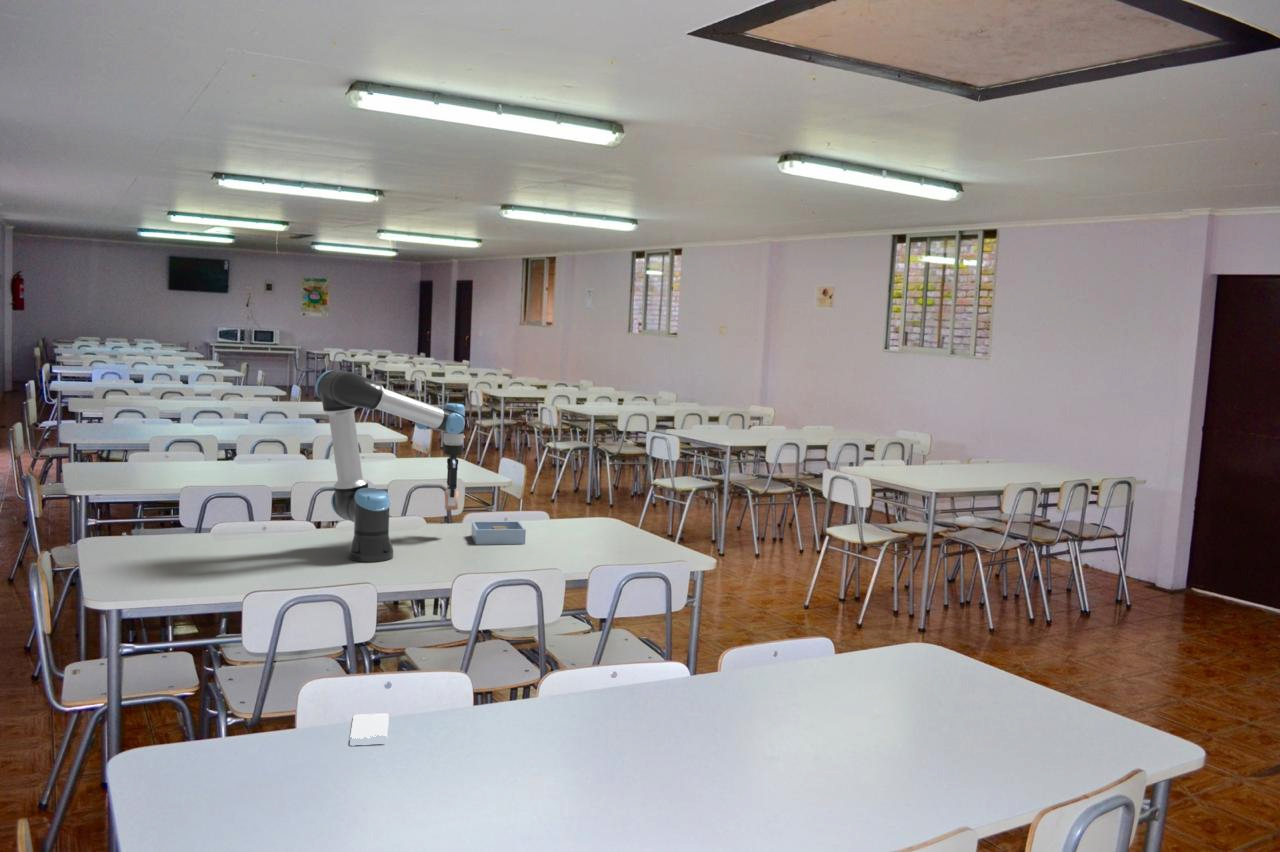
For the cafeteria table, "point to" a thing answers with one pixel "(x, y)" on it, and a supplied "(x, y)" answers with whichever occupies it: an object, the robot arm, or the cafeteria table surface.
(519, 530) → the tote
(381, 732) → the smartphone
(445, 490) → the cylinder
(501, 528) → the cube
